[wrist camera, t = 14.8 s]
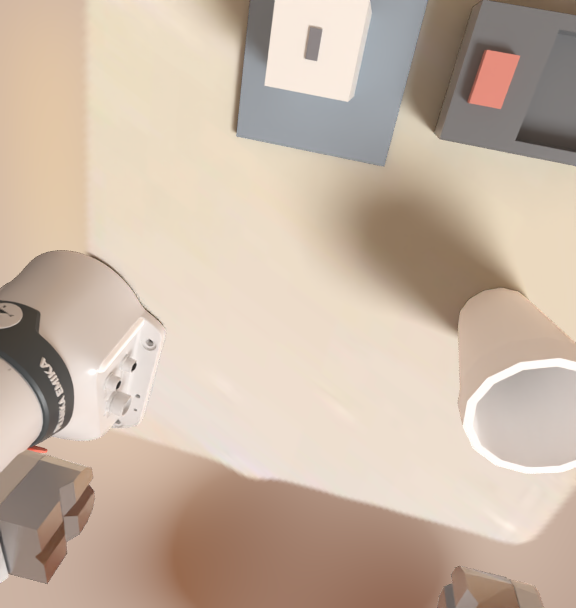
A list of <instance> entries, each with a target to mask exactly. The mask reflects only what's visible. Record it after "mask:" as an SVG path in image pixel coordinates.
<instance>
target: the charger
mask: <svg viewBox="0 0 576 608" xmlns="http://www.w3.org/2000/svg"><path fill="white" fill-rule="evenodd" d="M371 15H372V10H371V3H370V0H275V3H274V11H273V20H272V28H271V36H270V44H269V52H268V60H267V68H266V77H265V85H264V86H269V87H274V88H279V89H284V90H289V91H294V92H300V93H305V94H310V95H315V96H320V97H325V98H330V99H336V100H341V101H346V102H349V101H350V100H351V99H352V98H353V97H354V94H355V90H356V85H357V81H358V76H359V71H360V67H361V62H362V57H363V53H364V48H365V43H366V39H367V34H368V29H369V25H370V20H371Z"/></svg>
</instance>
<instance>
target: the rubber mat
mask: <svg viewBox="0 0 576 608" xmlns="http://www.w3.org/2000/svg"><path fill="white" fill-rule="evenodd" d="M427 2H428V0H370V3H371V10H372V15H371V20H370V25H369V29H368V34H367V39H366V43H365V48H364V53H363V57H362V62H361V67H360V71H359V76H358V81H357V85H356V90H355V94H354V97H353V98H352V99H351V100H350V101H349V102H346V101H341V100H336V99H330V98H325V97H320V96H315V95H310V94H305V93H300V92H294V91H289V90H284V89H279V88H274V87H269V86H264V85H265V77H266V68H267V60H268V52H269V44H270V36H271V28H272V20H273V11H274V3H275V0H250V5H249V15H248V25H247V35H246V45H245V55H244V65H243V75H242V85H241V95H240V105H239V115H238V125H237V135H236V136H237V137H242V138H247V139H252V140H257V141H262V142H267V143H272V144H276V145H281V146H286V147H291V148H296V149H301V150H306V151H311V152H315V153H320V154H325V155H330V156H335V157H340V158H345V159H350V160H354V161H359V162H364V163H369V164H374V165H379V166H384V165H385V161H386V158H387V154H388V150H389V146H390V142H391V139H392V135H393V131H394V127H395V123H396V120H397V116H398V112H399V108H400V104H401V101H402V97H403V93H404V89H405V86H406V82H407V78H408V74H409V70H410V67H411V63H412V59H413V55H414V51H415V48H416V44H417V40H418V36H419V32H420V29H421V25H422V21H423V17H424V14H425V10H426V6H427Z"/></svg>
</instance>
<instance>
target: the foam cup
mask: <svg viewBox="0 0 576 608" xmlns="http://www.w3.org/2000/svg"><path fill="white" fill-rule="evenodd" d="M458 348H459V377H460V391H459V397H458V408H459V412H460V416H461V421H462V425H463V428H464V430H465V432H466V434H467V436H468V439H469V441H470V443H471V445H472V447H473V449H474V450H475V451H477V452H478V453H480V454H481V455H482V456H484V457H485V458H486V459H488V460H489V461H491V462H492V463H493V464H495V465H496V466H500V467H503V468H507V469H511V470H515V471H518V472H522V473H526V474H534V473H557V472H564V471H567V470H570V469H572V468H575V467H576V342H574V341H573V340H572V339H571V338H570V337H569V336H568V335H567V334H566V333H565V332H564V331H562V330H561V329H560V328H559V327H558V326H557V325H556V324H555V323H554V322H553V321H552V320H550V319H549V318H548V317H547V316H546V315H545V314H544V313H543V312H542V311H541V310H540V309H539V308H537V307H536V306H535V305H534V304H533V303H532V302H531V301H529V300H528V299H527V298H526V297H524V296H523V295H522V294H521V293H520V292H518V291H514V290H510V289H506V288H496V289H490V290H484V291H482V292H480V293H479V294H477V295H475V296H473V297H472V298H470V299H469V300H468V301H467V303H466V304H465V305H464V307H463V308H462V309H461V311H460V314H459V321H458Z"/></svg>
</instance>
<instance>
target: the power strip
mask: <svg viewBox="0 0 576 608" xmlns="http://www.w3.org/2000/svg"><path fill="white" fill-rule="evenodd" d="M434 133H435V135H436V136H437V137H438V138H439V139H441V140H447V141H452V142H457V143H462V144H467V145H472V146H477V147H482V148H487V149H492V150H497V151H502V152H507V153H512V154H517V155H522V156H527V157H532V158H537V159H543V160H548V161H553V162H558V163H563V164H568V165H573V166H576V15H571V14H565V13H559V12H553V11H547V10H542V9H536V8H530V7H524V6H518V5H512V4H506V3H500V2H495V1H489V0H482V1H481V2H479V3H478V4H476V5H475V6H473V8H472V11H471V14H470V17H469V21H468V24H467V27H466V30H465V34H464V37H463V40H462V43H461V47H460V50H459V53H458V56H457V60H456V63H455V66H454V69H453V73H452V76H451V79H450V82H449V86H448V89H447V92H446V96H445V99H444V102H443V105H442V109H441V112H440V115H439V118H438V122H437V125H436V128H435V131H434Z"/></svg>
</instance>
